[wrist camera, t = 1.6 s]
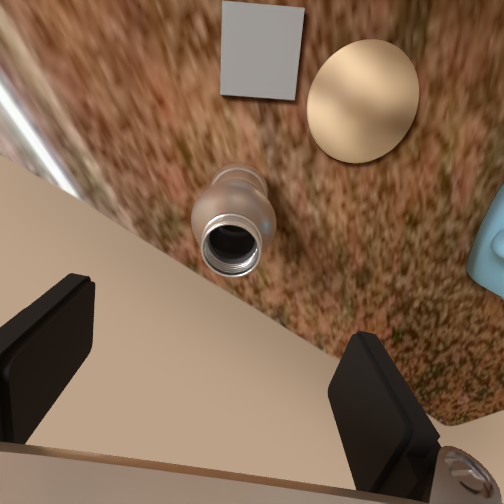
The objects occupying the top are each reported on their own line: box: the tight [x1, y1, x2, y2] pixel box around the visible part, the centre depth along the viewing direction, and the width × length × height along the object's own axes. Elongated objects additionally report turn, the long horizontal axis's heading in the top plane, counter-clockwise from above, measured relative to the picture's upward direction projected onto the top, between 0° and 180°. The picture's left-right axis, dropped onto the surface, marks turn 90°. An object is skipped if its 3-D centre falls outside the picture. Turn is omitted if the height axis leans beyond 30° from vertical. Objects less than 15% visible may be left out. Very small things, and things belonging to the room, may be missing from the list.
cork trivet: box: [306, 39, 419, 163], centre depth 32 cm, size 12×12×1 cm
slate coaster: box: [220, 1, 305, 101], centre depth 30 cm, size 8×8×1 cm
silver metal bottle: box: [191, 163, 276, 278], centre depth 27 cm, size 6×7×20 cm
